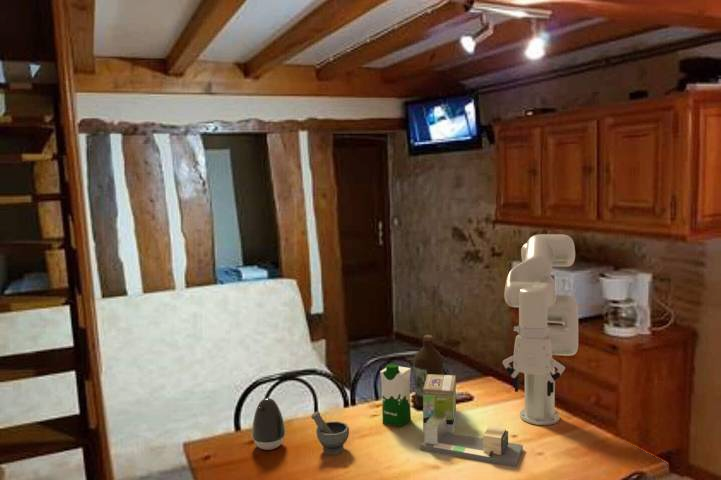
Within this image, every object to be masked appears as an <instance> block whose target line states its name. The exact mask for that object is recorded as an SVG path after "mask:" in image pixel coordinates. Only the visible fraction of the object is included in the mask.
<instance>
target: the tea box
mask: <svg viewBox="0 0 721 480" xmlns="http://www.w3.org/2000/svg"><path fill="white" fill-rule="evenodd" d="M456 383H457V376H456V375H453V374H452V375H451V374H443V375H434V374H427V377H426V381H425V384H424V388H423V408H422V412H423V413H422V433H423V434H425V433H424V425H425V423H426V422H427V421H428V420H429V419H430V417H431V416H432V415H433V414H441V415H446V431H447V433H453V434H454V431H455V427H456V426H455V424H456V417H457V412H456V411H457V410H456V409H457V402H456V401H457V386H456V385H457V384H456Z"/></svg>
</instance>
